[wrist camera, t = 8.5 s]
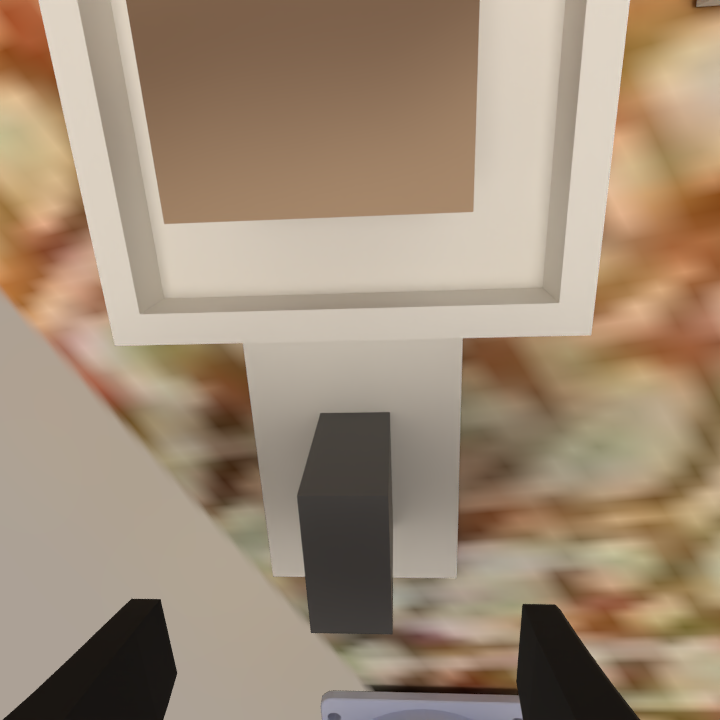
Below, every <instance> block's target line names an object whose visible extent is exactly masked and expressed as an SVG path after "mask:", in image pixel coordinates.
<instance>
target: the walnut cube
mask: <svg viewBox="0 0 720 720" xmlns="http://www.w3.org/2000/svg"><path fill="white" fill-rule="evenodd" d="M126 4H127V10H128V16H129V22H130V28H131V33H132V39H133V45H134V51H135V57H136V63H137V68H138V74H139V80H140V86H141V92H142V98H143V103H144V109H145V115H146V121H147V127H148V133H149V138H150V144H151V150H152V156H153V162H154V168H155V174H156V179H157V185H158V191H159V197H160V203H161V209H162V214H163V220H164V224H178V223H204V222H229V221H255V220H281V219H306V218H332V217H357V216H383V215H409V214H434V213H460V212H473V208H474V175H475V141H476V108H477V75H478V42H479V9H480V0H126Z"/></svg>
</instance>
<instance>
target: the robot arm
mask: <svg viewBox="0 0 720 720" xmlns="http://www.w3.org/2000/svg"><path fill="white" fill-rule="evenodd" d="M176 675H177V671H176V666H175V662H174V657H173V653H172V648H171V644H170V640H169V635H168V631H167V626H166V622H165V618H164V613H163V609H162V604H161V600H160V599H131V600H130V601H129V602H128V603H127V604H126V605H125V606H124V607H122V608H121V609H120V610H119V611H118V612H117V613H116V614H115V615H114V616H113V617H112V618H111V619H110V620H109V621H108V622H107V623H106V624H105V625H104V626H103V627H102V628H101V629H100V630H99V631H97V632H96V633H95V634H94V635H93V636H92V637H91V638H90V639H89V640H88V641H87V642H86V643H85V644H84V645H83V646H82V647H81V648H80V649H79V650H78V651H77V652H76V653H75V654H74V655H73V656H72V657H71V658H70V659H69V660H68V661H66V662H65V663H64V664H63V665H62V666H61V667H60V668H59V669H58V670H57V671H56V672H55V673H54V674H53V675H52V676H51V677H49V679H47V680H46V681H45V682H44V683H43V684H42V685H41V686H40V687H39V688H38V689H37V690H36V691H35V692H33V693H32V694H31V695H30V696H29V697H28V698H27V699H26V700H25V701H23V702H22V703H21V704H20V705H19V706H18V707H17V708H16V709H15V710H13V711H12V712H11V713H10V714H9V715H8V716H7V717H5V718H4V719H3V720H163V719H164V715H165V712H166V709H167V706H168V703H169V699H170V696H171V693H172V689H173V686H174V682H175V679H176ZM516 682H517V688H518V694H519V695H493V694H453V693H413V692H373V691H329V692H327V693H325V694H324V695H323V696H322V701H321V713H322V720H640V719H639V718H638V717H637V715H636V714H635V713H634V711H633V710H632V709H631V708H630V706H629V705H628V704H627V702H626V701H625V700H624V699H623V697H622V696H621V695H620V693H619V692H618V691H617V690H616V688H615V687H614V686H613V684H612V683H611V682H610V680H609V679H608V678H607V676H606V675H605V674H604V672H603V671H602V669H601V668H600V667H599V665H598V664H597V663H596V661H595V660H594V658H593V657H592V656H591V654H590V653H589V651H588V650H587V649H586V647H585V646H584V644H583V643H582V641H581V640H580V638H579V637H578V636H577V634H576V633H575V631H574V630H573V628H572V627H571V625H570V624H569V622H568V621H567V619H566V618H565V616H564V615H563V613H562V611H561V610H560V609H559V608H558V607H557V606H556V605H546V604H523V606H522V618H521V631H520V643H519V655H518V668H517V680H516Z"/></svg>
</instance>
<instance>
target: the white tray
mask: <svg viewBox="0 0 720 720" xmlns="http://www.w3.org/2000/svg"><path fill="white" fill-rule="evenodd" d="M629 4H630V0H480V9H479V42H478V75H477V108H476V141H475V175H474V208H473V212H460V213H434V214H409V215H383V216H357V217H332V218H306V219H281V220H255V221H229V222H204V223H178V224H164V220H163V214H162V209H161V203H160V197H159V191H158V185H157V179H156V174H155V168H154V162H153V156H152V150H151V144H150V138H149V133H148V127H147V121H146V115H145V109H144V103H143V98H142V92H141V86H140V80H139V74H138V68H137V63H136V57H135V51H134V45H133V39H132V33H131V28H130V22H129V16H128V10H127V4H126V0H39V5H40V9H41V14H42V18H43V23H44V27H45V32H46V36H47V41H48V45H49V50H50V54H51V59H52V63H53V68H54V73H55V77H56V82H57V86H58V91H59V95H60V100H61V104H62V109H63V113H64V118H65V122H66V127H67V131H68V136H69V140H70V145H71V149H72V154H73V158H74V163H75V168H76V172H77V177H78V181H79V186H80V190H81V195H82V199H83V204H84V208H85V213H86V217H87V222H88V226H89V231H90V235H91V240H92V244H93V249H94V254H95V258H96V263H97V267H98V272H99V276H100V281H101V285H102V290H103V294H104V299H105V303H106V308H107V312H108V317H109V321H110V326H111V330H112V335H113V340H114V344H115V346H133V345H178V344H222V343H243V348H244V355H245V363H246V371H247V378H248V386H249V394H250V402H251V409H252V417H253V425H254V432H255V440H256V448H257V455H258V463H259V471H260V478H261V486H262V494H263V502H264V509H265V517H266V525H267V532H268V540H269V548H270V555H271V563H272V571H273V577H305V580H306V590H307V599H308V609H309V619H310V628H311V633H347V634H393V578H457V544H458V504H459V464H460V425H461V385H462V346H463V338H491V337H535V336H580V335H591V333H592V324H593V315H594V307H595V298H596V289H597V281H598V272H599V263H600V255H601V246H602V237H603V229H604V220H605V211H606V203H607V194H608V185H609V177H610V168H611V159H612V151H613V142H614V133H615V125H616V116H617V107H618V99H619V90H620V82H621V73H622V64H623V56H624V47H625V38H626V30H627V21H628V12H629Z"/></svg>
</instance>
